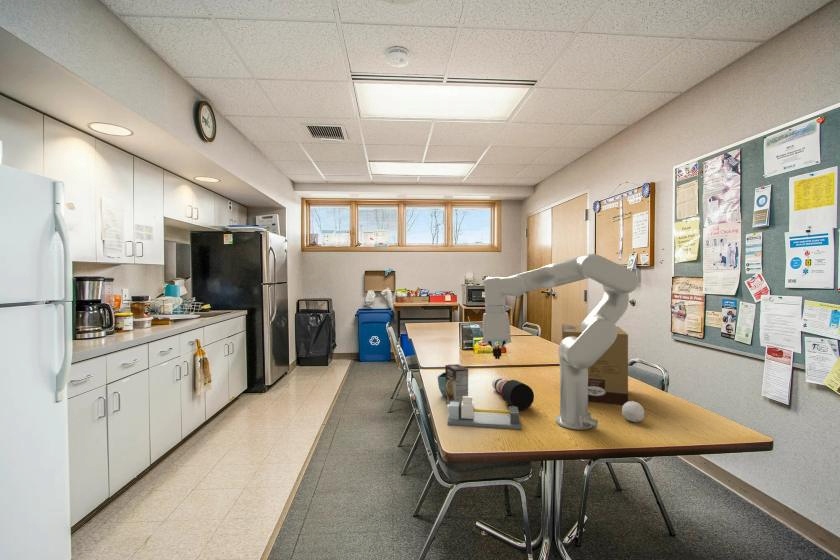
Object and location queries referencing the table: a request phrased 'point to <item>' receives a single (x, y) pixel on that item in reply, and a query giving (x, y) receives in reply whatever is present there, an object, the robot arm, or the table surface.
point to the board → (491, 420)
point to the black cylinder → (514, 392)
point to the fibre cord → (491, 411)
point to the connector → (454, 410)
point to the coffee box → (456, 383)
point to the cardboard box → (607, 369)
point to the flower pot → (442, 383)
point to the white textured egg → (633, 411)
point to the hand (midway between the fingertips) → (497, 358)
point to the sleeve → (467, 408)
